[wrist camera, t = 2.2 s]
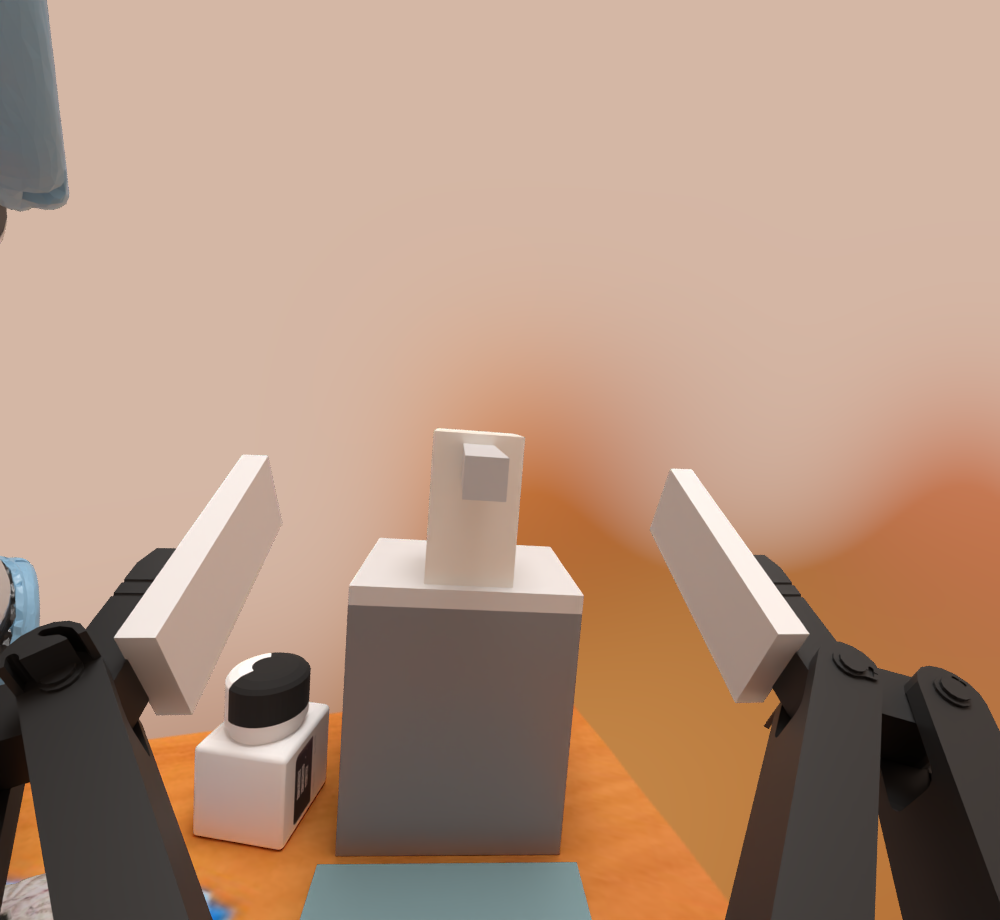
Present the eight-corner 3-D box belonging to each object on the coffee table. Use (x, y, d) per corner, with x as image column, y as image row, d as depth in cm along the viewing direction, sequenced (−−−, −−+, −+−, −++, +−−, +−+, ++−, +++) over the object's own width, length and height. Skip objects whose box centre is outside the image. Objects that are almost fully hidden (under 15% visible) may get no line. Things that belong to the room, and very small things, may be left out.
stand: (559, 854, 39) (583, 595, 38) (335, 855, 38) (348, 585, 36) (533, 740, 53) (550, 546, 51) (368, 737, 52) (379, 538, 50)
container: (327, 780, 45) (333, 649, 44) (281, 853, 38) (288, 696, 37) (250, 768, 46) (255, 638, 45) (190, 837, 39) (194, 683, 37)
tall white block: (534, 657, 27) (552, 446, 26) (409, 653, 26) (423, 437, 25) (504, 561, 45) (514, 433, 44) (429, 557, 44) (437, 428, 43)
